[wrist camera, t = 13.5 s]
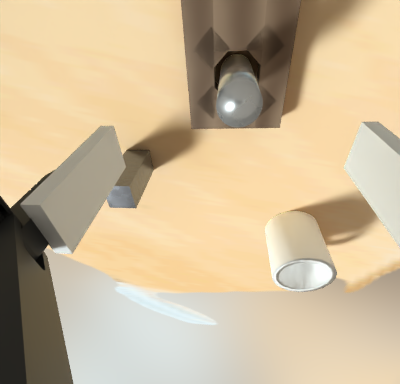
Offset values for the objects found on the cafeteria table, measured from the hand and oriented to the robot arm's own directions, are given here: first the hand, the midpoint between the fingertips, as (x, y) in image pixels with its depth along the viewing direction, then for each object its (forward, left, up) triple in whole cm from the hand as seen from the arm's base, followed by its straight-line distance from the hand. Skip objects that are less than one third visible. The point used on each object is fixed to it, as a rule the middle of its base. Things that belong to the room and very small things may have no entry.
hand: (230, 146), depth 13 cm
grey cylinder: (+1, -1, -22) cm, 22 cm away
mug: (+14, -31, -22) cm, 41 cm away
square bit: (-15, -14, -22) cm, 30 cm away
